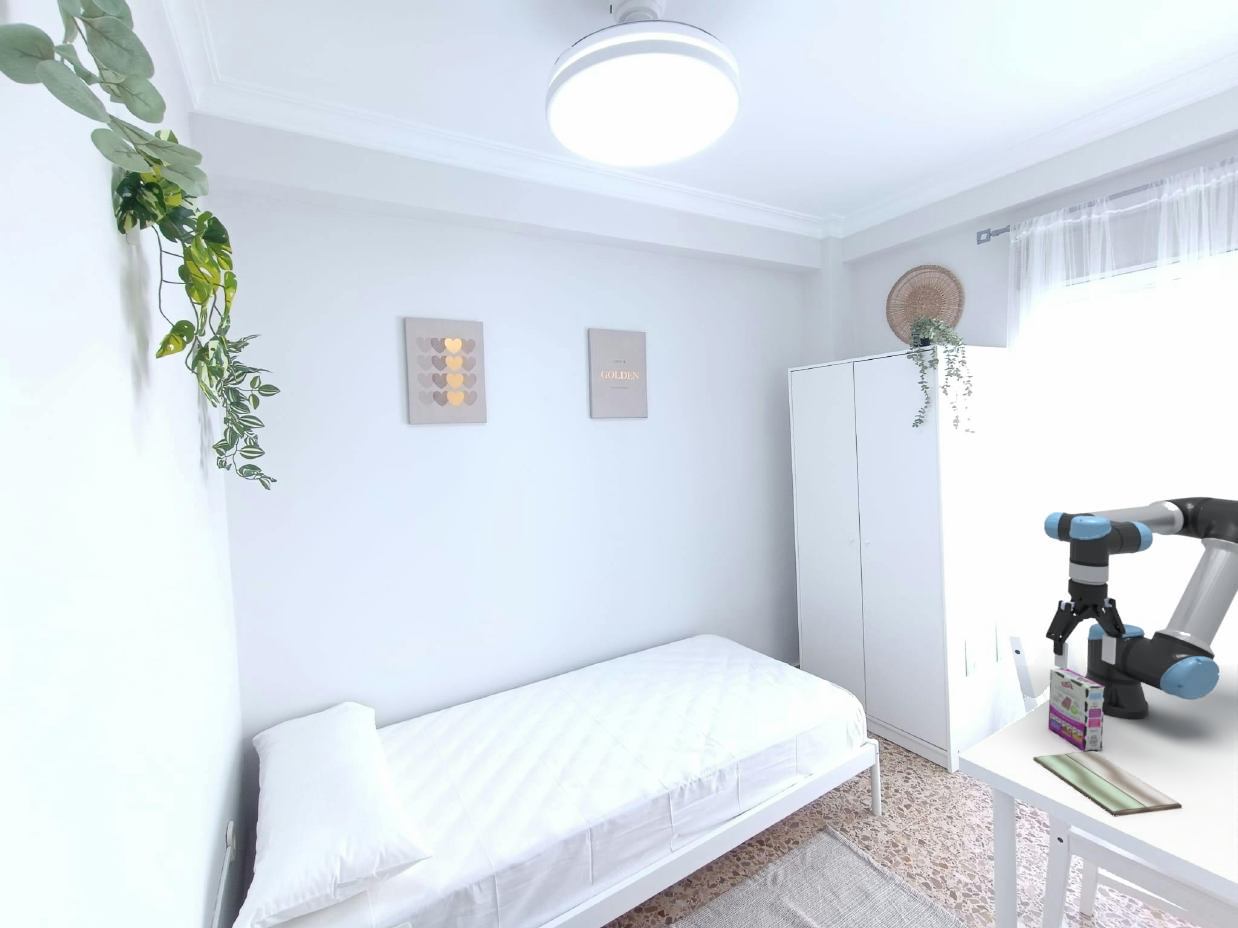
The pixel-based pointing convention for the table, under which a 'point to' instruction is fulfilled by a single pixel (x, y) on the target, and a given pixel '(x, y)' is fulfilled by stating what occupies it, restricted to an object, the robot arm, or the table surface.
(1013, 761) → the table surface
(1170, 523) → the robot arm
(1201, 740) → the table surface
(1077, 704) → the candy bar box
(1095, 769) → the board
